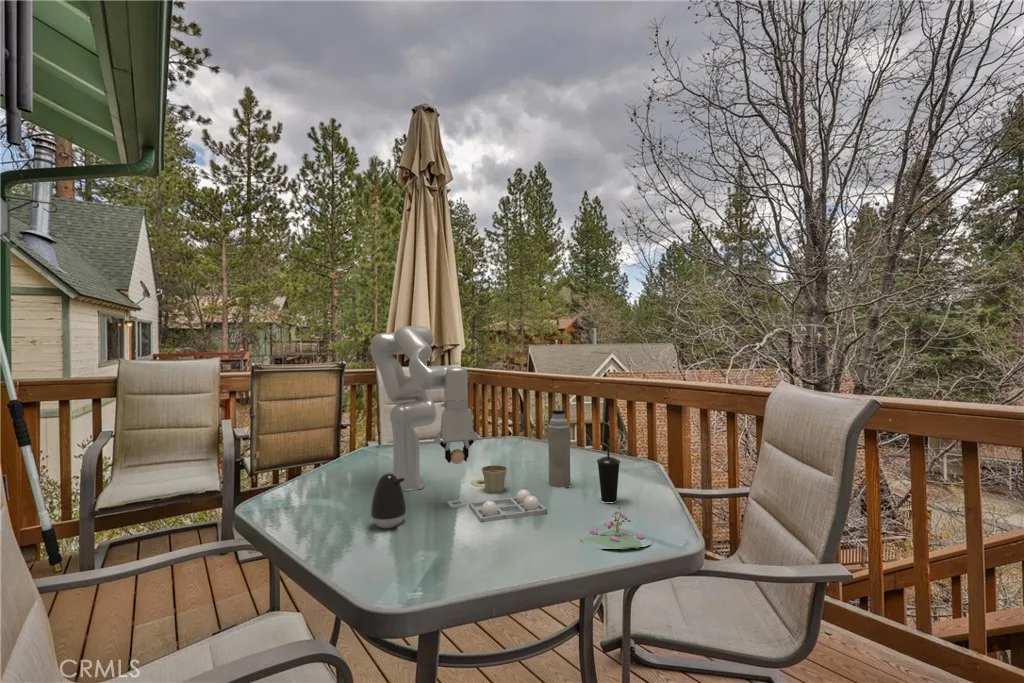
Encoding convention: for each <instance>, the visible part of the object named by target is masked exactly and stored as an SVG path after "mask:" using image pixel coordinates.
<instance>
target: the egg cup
mask: <svg viewBox="0 0 1024 683" xmlns="http://www.w3.org/2000/svg"><path fill="white" fill-rule="evenodd" d="M447 504H448V506H449V508H450V509H452V508H453V509H454V508H461V507H466V506H467V504H466V502H465V501H464V500H463V499H456V500H449V501H448V500H447Z"/></svg>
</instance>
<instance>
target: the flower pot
mask: <svg viewBox="0 0 1024 683" xmlns="http://www.w3.org/2000/svg"><path fill="white" fill-rule="evenodd" d="M480 470H481V472H482V474H483V480H484V481H483V482H484V489H485V492H487V493H490V494H497V493H502V492H504V487H505V478H506V474H507V471H508V467H507V466H504V465H498V464H496V465H495V464H494V465H493V464H492V465H485V466H483V467H481V468H480Z"/></svg>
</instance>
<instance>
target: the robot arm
mask: <svg viewBox="0 0 1024 683" xmlns="http://www.w3.org/2000/svg"><path fill="white" fill-rule="evenodd" d="M433 342H434V335H433V333H432V331H431V329H429V328H428V327H427V326H418V325H417V326H415V325H414V326H410V325H407V326H401V327H399V328H398V329H396V330H395V332H381V333H377V334H375V335H374V336H373V337H372V339H371V341H370V354H371V357H372V361H373V362H374V365H375V366H376V367H377V369H378V371H379V374H380V377H381V380H382V384H383V385H384V386H383V387H384V390H385V393H386V396H387V398H388V399H389V401H390V402H392V403H397V404H396V405H394V406H393V407H392V408H391V410H390V412H389V413H390V414H389V417H390V424H391V430H392V441H393V443H392V445H393V456H392V458H393V475H395V476H396V477H397V478H398V479H400V478H404V481H403V482H401V483H400V484H401V487H402V489H403V493H407V492H414V491H420V490H422V489H423V488H424V487H425V483H424V481H421V474H420V473H421V472H420V471H421V469H420V466H421V465H420V459H421V458H420V453H421V452H420V438H419V436H418V434H417V433H416V431H415V429H414V428H419V427H425V426H430V425H432V424H433V423H434V422H436V418H437V411H436V410H437V409H436V406H435V403H434V400H433V397H432V394H431V392H430V390H438V389H439V390H440V389H441V390H442V389H444V400H443V401H442V402H440V404H439V406H440V407H441V408H444V409H442V414H441V419H440V420H441V421H440V422H441V423H440V430H439V432H438V434H437V435H436V436H435V438H433V441H434V442H435V443H437V444H438V445H439V446H441V447H442V448H443V449H444V459H445V460H446V462H447V463H448V464H450V463H452V462H451V452H452V450H451V448H450V447H451V443H452V442H462V441H463V445H464V446H463V447H462V451H463V452H464V456H465V457H464V460H463V462H468V458H469V456H470V454H469V452H470V451H469V449H470V447H471V446H472V445H473V444H474V443H475V442H476V441H477V440H479V435H478V434H477V433H476V432H475V430H474V428H473V427H474V426H473V416H472V412H471V411H472V410H471V408H469V399H468V398H469V396H468V395H469V394H468V392H469V390H468V387H469V386H468V378H469V377H468V369H467V368H465V367H458V366H457V367H456V366H452V365H451V366H450V365H444V366H443V365H441V366H440V365H439V366H437V365H436V366H426V365H425V364H426V363H427V362H428V361H429V360H430V358H431V357H432V355H433V354H432V353H433V349H432V344H433ZM393 355H406V357H407V358H408V359H409V362H408V371H409V375H410V376H407V375H406V374H405V372H404V368H403V367H402V364H401V363H400V362H399V361H398V360H397V358H395V357H393ZM441 439H442V440H443V441H444V442H443V441H442V440H441ZM419 489H420V490H419Z"/></svg>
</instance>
